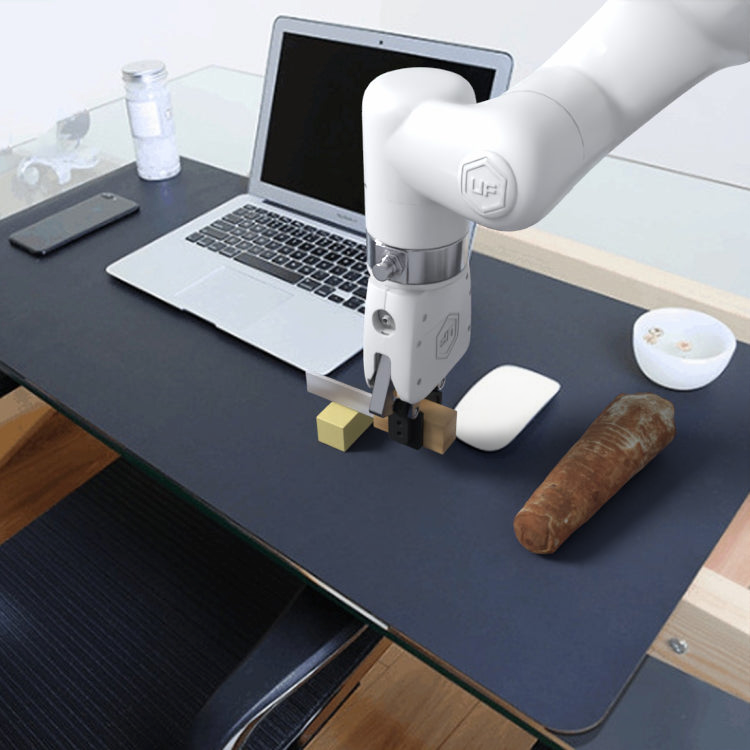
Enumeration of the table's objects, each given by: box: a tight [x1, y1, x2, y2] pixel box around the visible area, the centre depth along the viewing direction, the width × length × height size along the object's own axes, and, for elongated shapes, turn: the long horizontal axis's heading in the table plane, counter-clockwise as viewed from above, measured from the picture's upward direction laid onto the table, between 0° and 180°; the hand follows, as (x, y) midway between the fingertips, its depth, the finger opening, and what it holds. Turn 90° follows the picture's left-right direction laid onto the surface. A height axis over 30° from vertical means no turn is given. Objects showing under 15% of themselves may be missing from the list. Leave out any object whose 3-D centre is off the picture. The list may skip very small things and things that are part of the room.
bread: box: [512, 391, 677, 555], centre depth 67 cm, size 6×19×6 cm, turn 135°
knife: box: [305, 369, 458, 455], centre depth 71 cm, size 15×2×3 cm, turn 58°
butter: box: [315, 401, 374, 453], centre depth 74 cm, size 5×3×3 cm, turn 148°
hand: (414, 431), depth 70 cm, fingers closed on knife, 2 cm apart
